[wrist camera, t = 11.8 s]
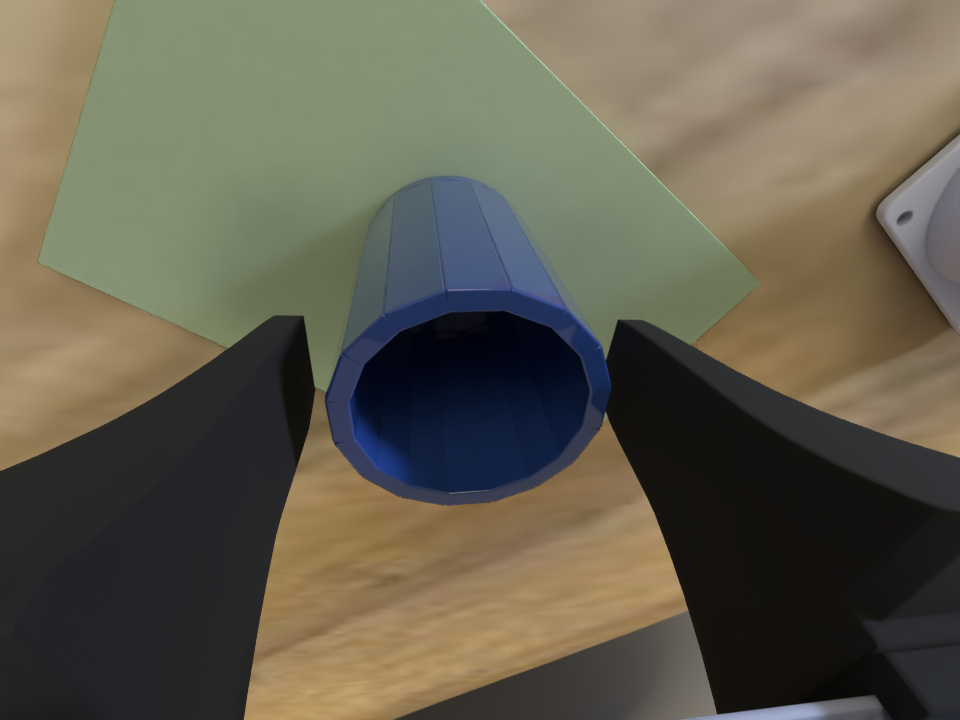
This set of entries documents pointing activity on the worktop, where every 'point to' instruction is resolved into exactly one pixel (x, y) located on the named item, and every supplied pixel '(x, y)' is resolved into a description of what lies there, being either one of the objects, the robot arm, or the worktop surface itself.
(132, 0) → the sage mat
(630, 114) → the worktop surface
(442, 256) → the blue cup
